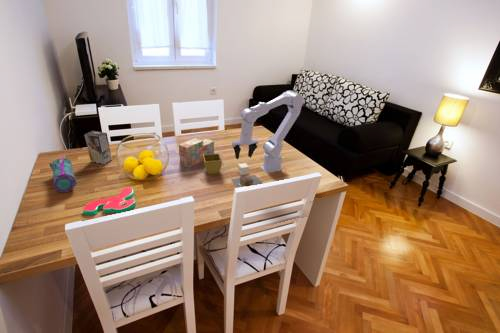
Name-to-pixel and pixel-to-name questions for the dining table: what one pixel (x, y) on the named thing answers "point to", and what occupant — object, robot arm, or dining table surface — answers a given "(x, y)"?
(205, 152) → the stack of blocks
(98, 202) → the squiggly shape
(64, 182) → the pencil case
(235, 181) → the blueprint mat
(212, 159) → the flower pot
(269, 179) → the dining table surface
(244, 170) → the top block
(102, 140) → the coffee box
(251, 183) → the base block
